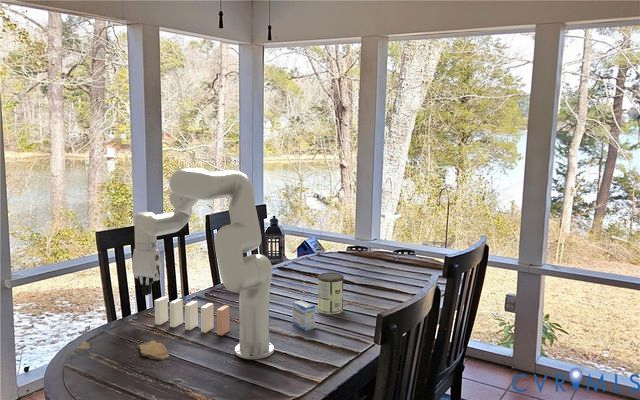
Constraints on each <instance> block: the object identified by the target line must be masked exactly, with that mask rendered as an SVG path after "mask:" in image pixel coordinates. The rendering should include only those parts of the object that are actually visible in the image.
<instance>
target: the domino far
mask: <svg viewBox="0 0 640 400" xmlns="http://www.w3.org/2000/svg"><path fill="white" fill-rule="evenodd" d="M167 322H169V297H168V296H161V297H159V298H157V299H154V323H155V324H154V325H158V326H161V325H163V324H165V323H167Z"/></svg>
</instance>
